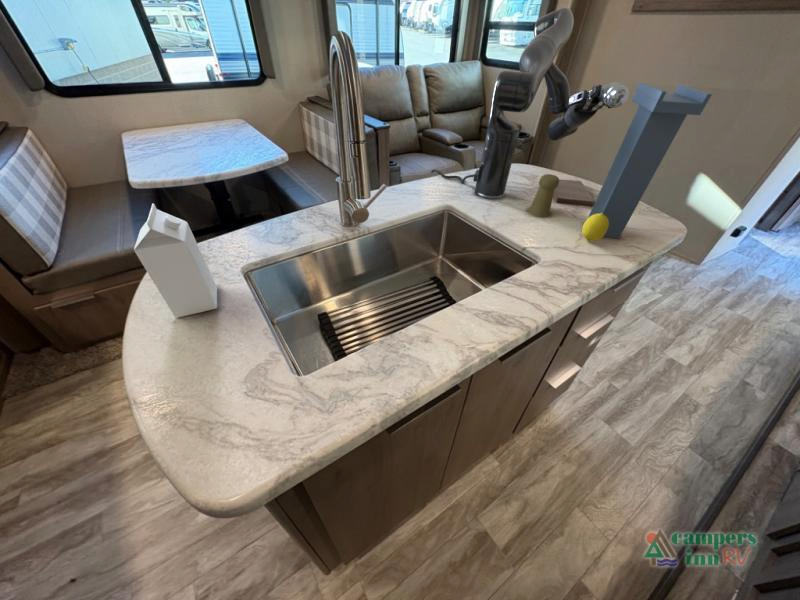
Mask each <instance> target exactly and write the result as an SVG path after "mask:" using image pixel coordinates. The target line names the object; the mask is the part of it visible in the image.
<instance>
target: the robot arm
mask: <svg viewBox="0 0 800 600" xmlns="http://www.w3.org/2000/svg"><path fill="white" fill-rule="evenodd" d="M574 21H575V19H574V14H573V12H572V10H571V8H569V7H566V6H564V7H560V8H558V9H556V10H553V11H552V12H549V13H547V14H545V15H543V16H541V17H539V18H538V19H537V20H536V21H535V24H534V26H533V27H534V28H533V38H532V39H531V40H530V41H529V42H528V44H527V45H526V47H525V48H524V50H523V51H522V53H521V55H520V57H519V58H520V59H519V60H518V66H519V71H518V70H505V69H504V70H501V71H500V72H499V73H498V74H497V76H496V79H495V81H494V85H493V88H492V95H491V102H490V110H489V115H488V122H487V130H486V135H485V140H484V145H483V151H482V156H481V161H480V164H479V168H478V169H476V170H475V171H474V174H468V175H465V176H464V177H463V178H462V177H461V176H459V175H445V174H443V173H442V172H441V171H439V170H438V169H432V170H430V172H429V173H434V172H435V173H437V174H438V175H439V176H441V177H443V178H445V179H459V183H461V184H462V183H464V182H465V181H466V179H469V178H473V179H472V181H473V182H474V183H475V182H476V183H475V188H474V192H473V193H474V195H477V196H479V197H482V198H484V199H492V200H497V199H501V198H503V197H504V196H505V193H506V187H507V184H508V179H509V176H510V172H511V167H512V164H513V159H514V155H515V152H516V147H517V144H518V139H519V137H520V131H521V130H520V127H519V126H518V125H516V124H515V123H513V122H512V121H510V120H509V119H508V118H507V117H506V115H505V112H510V113H519V114H521V113H524V112H527V110H528V109H529V108H530V107H531V105H532V103H533V101H534V99H535V97H536V94H537V92H538V91H539V87H540V85H541V83H542V81H543V79H544V81H545V86H546V90H547V97H548V104H549V110H550V113H551V114H552V115H558V114H562V115H561V116H559V117H557V118H556V119H554V120H553V121H551V123H549V125H548V128H547V136H548V138H549V139H550V140H551V141H555V142H557V141H559V140H561V139H564V138H566V137H569V136H571V135H573V134H575V133H576V132H577V131H578V128H579V127H581V126H582V125H583V124H585V123H586V122H588V121H589V120H590V119H591V118H593V117H594V116H595V115H596V114H597V112H598V111H599V110H601V109H603V108H604V107H606V108H607V109H612V108H611V107H609V106H607V105H606V104H605V103H603V102H602V101H601V100H600V99H598V98H597V97H596V96H597V95H598V94H600V91H601V88H603V87H602V86H603V85H602V84H598V85H596V86H597V87H595V88H594V89H593V90H591V89H590V90H589V91H588V90H587V89H584V90H581V91H580V92H577V93H575V94H572V95H571V87H570V82H569V80H568V78H567V76H566V75H565V74H564V73H563V71H562V70H561V69H560V68H559V67H558V66H557V65H556V63H555V62H554V61H555V58H556V57H557V55H558V53H559V52H560V50H561V49H562V48H563V46H564V45H565V44H566V43H567V42H568V41H569V39H571V36H572V33H573V29H574Z"/></svg>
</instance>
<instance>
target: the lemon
mask: <svg viewBox="0 0 800 600" xmlns="http://www.w3.org/2000/svg"><path fill="white" fill-rule="evenodd" d="M588 217H589V216H588ZM588 217H587V219H586V220H585V221H584V223H583V225H582V228H581V234H582V236H583V238H584V239H586V241H587V242H595V241H599V240H601V239H602V238H604V237H603V236H604V235H605V233H606V232H607V229H608V226H609V220H608V218H607V217H606V216H605V215H604V214H603V213H600V214H594V215H592V216H590V217H589V218H588Z"/></svg>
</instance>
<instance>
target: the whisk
mask: <svg viewBox="0 0 800 600" xmlns="http://www.w3.org/2000/svg"><path fill="white" fill-rule="evenodd" d="M597 86H598V85H594V86H592V88H591V89H590V90H593V89H594V88H595V87H597ZM629 93H630V91H629V88H628V87H627V86H626V85H624V84H622V83H621V82H620V83H619V82H617V81H611V82H608V83H607V84H606V85H604V86H603V87H601V91H600V94H598V95H597V96H596V97H597V98H598V99H600V100H601V101H602V102H603V103H605V104H606V105H607V106H609V107H611V108H610V109H612V108H613V109H615V108H619V107H621V106H623V104H625V103H626V102H627V100H628V98H629Z"/></svg>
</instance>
